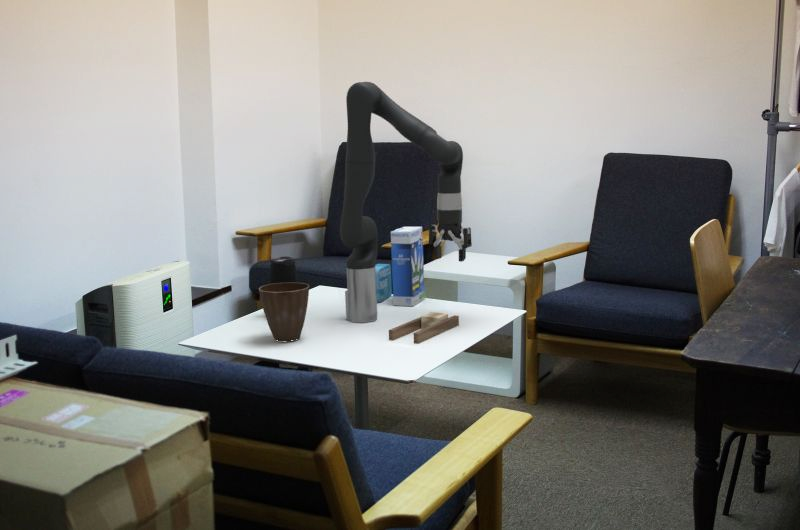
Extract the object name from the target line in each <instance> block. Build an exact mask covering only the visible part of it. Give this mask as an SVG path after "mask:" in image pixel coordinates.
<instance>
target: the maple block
mask: <svg viewBox="0 0 800 530" xmlns="http://www.w3.org/2000/svg"><path fill="white" fill-rule="evenodd" d="M420 317H421V330H422V329H424V328H427V327H429V326H431V325H434V324H436V323H438V322H440V321H443V320H445V319H447V318H449V313H444V312H436V311H434V312H433V311H430V312H428V313H425V314H423V315H420Z"/></svg>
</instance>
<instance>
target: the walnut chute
mask: <svg viewBox="0 0 800 530" xmlns="http://www.w3.org/2000/svg"><path fill="white" fill-rule="evenodd" d="M458 326H460V316H459V315H455V314H454V315H453V316H450V317H448V318H447V319H445V320H443V321H440V322H438V323H436V324H434V325H431V326H429V327H427V328H424V329H422V328H421V316H419V317H417V318H415V319H412V320H410V321H408V322H405V323H403V324H400V325H398V326H395V327H393V328H391V329H388V340H389V341H395V340H399V339H401V338H402V337H406V336H407V335H409V334H412V333H413V344H417V345H419V344H421V343H424V342H425V341H428V340H430V339H432V338H434V337H436V336H439V335H441V334H443V333H445V332H447V331H449V330H451V329H453V328H456V327H458Z"/></svg>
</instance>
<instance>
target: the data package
mask: <svg viewBox="0 0 800 530" xmlns="http://www.w3.org/2000/svg"><path fill="white" fill-rule="evenodd" d="M375 272H376V295H377V303H382V302H384V301H386V300H388V299H389V298H391V297H392V296H393V282H392V265H391V264H390V263H377V264H375Z"/></svg>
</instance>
